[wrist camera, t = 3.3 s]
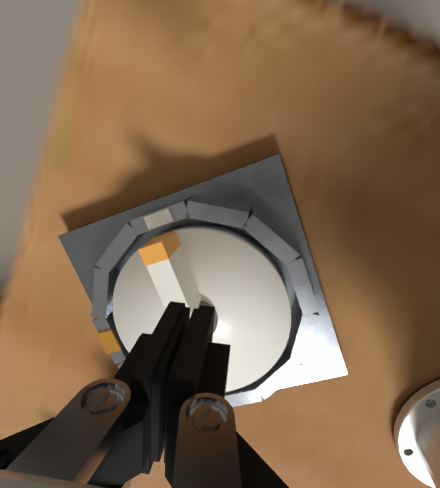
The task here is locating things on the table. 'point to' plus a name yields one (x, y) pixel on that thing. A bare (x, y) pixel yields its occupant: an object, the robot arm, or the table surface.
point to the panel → (235, 219)
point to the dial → (209, 294)
